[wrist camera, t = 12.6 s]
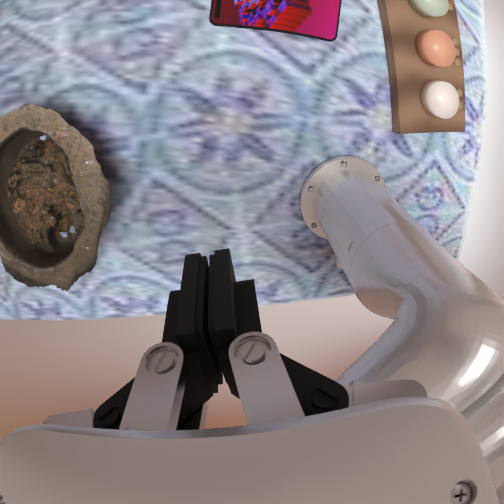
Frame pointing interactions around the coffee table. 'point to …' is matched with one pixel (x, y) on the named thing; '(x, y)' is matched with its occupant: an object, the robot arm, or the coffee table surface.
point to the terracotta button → (436, 48)
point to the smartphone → (280, 16)
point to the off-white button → (440, 99)
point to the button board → (419, 67)
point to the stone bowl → (49, 199)
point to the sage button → (430, 7)
